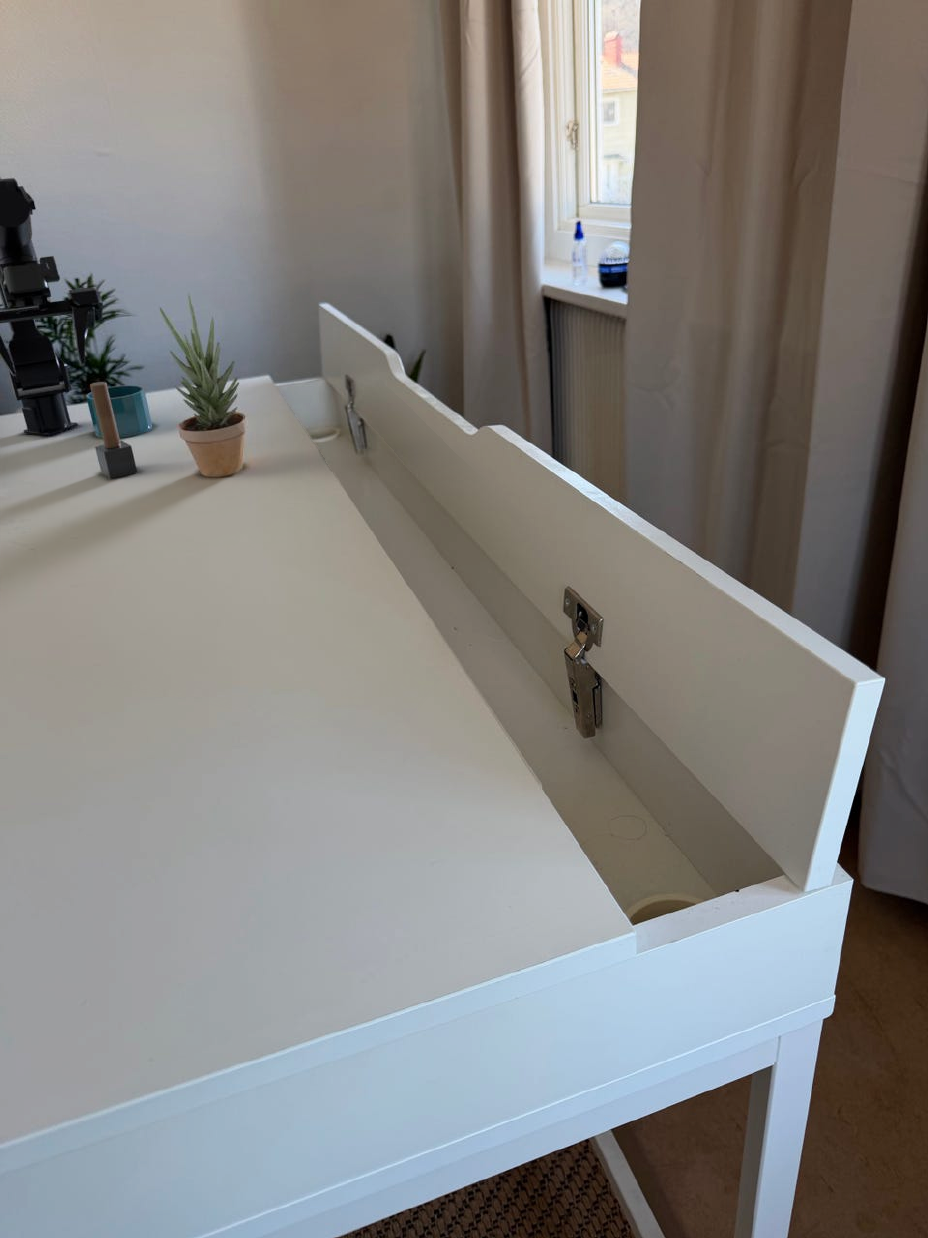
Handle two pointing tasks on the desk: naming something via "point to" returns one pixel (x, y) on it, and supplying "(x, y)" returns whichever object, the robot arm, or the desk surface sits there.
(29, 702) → the desk surface
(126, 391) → the teal paint pail
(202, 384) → the potted plant
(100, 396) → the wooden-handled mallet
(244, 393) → the desk surface
